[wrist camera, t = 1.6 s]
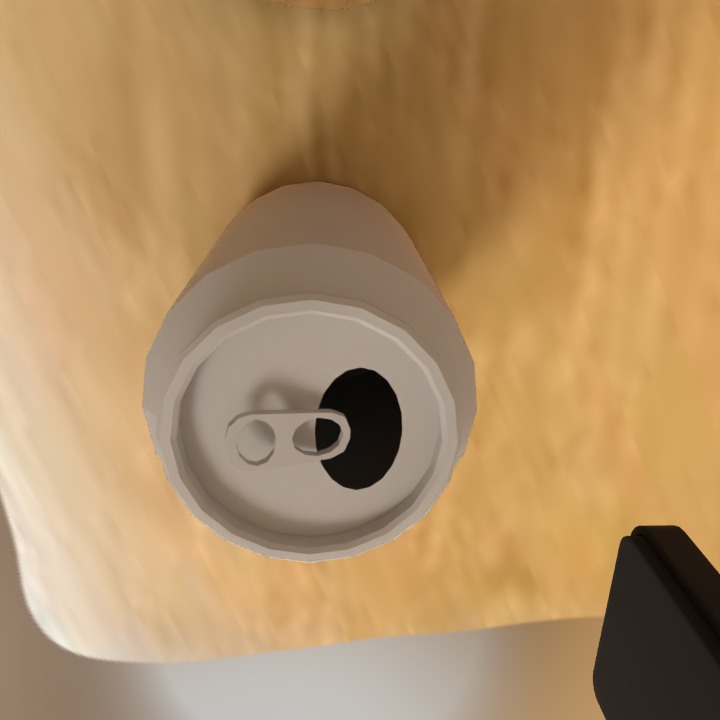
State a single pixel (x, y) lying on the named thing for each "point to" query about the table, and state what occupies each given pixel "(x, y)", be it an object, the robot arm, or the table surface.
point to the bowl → (323, 3)
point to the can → (310, 380)
